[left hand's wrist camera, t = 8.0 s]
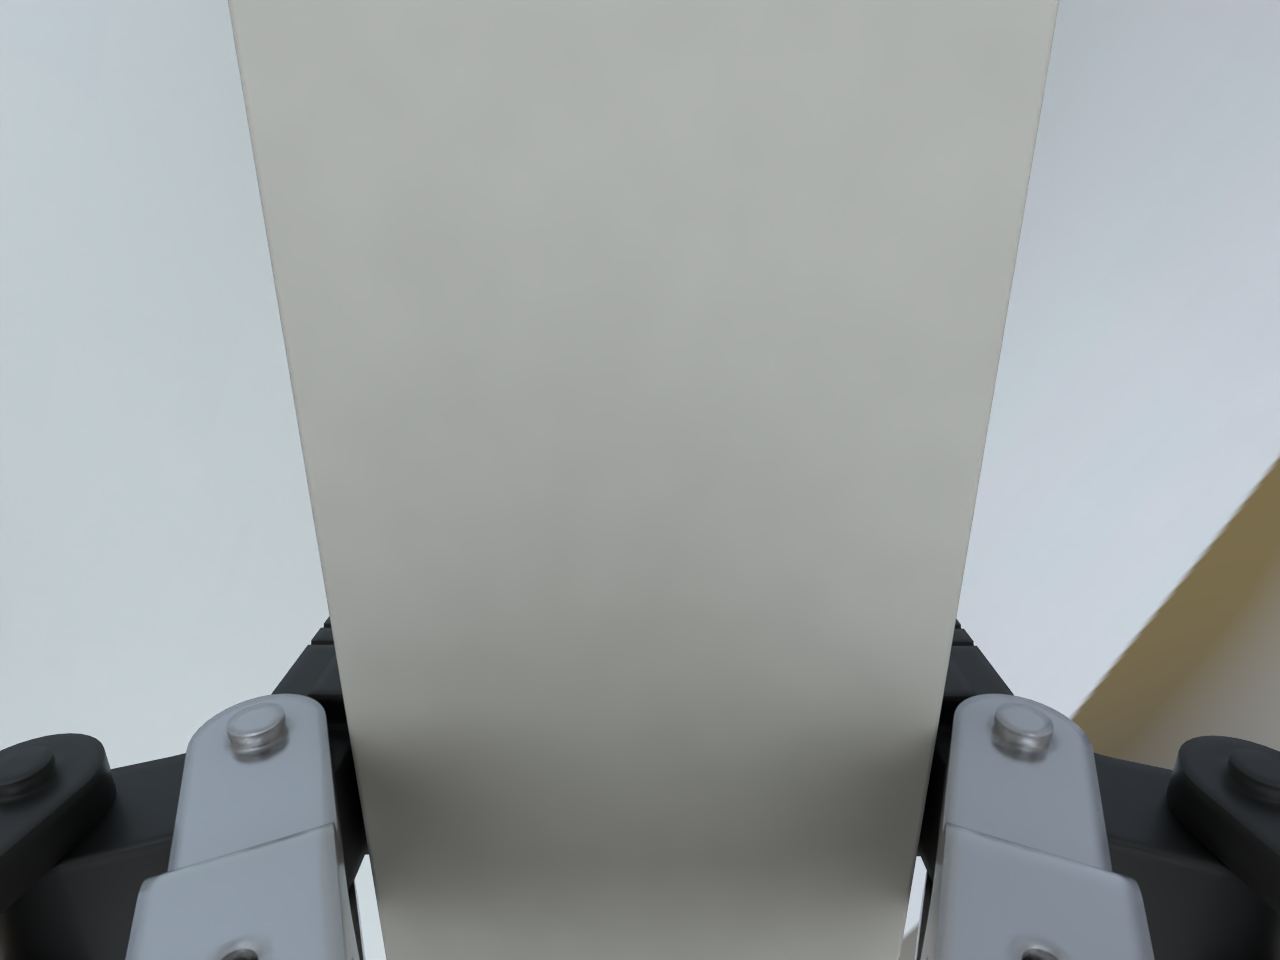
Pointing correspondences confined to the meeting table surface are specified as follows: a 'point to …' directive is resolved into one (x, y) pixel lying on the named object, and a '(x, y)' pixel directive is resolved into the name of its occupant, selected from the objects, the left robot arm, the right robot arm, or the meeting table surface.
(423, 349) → the box
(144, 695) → the meeting table surface
